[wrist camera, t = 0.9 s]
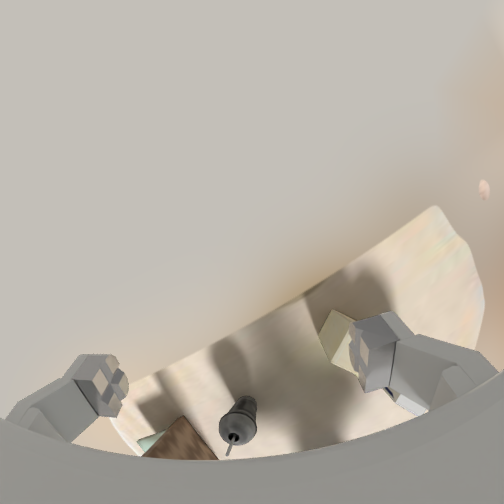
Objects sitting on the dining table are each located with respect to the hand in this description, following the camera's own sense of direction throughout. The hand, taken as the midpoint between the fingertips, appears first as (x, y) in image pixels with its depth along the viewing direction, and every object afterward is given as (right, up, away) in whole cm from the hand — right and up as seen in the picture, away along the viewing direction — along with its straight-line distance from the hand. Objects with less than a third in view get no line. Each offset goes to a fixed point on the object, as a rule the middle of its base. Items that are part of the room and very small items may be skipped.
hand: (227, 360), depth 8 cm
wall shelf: (-17, -46, +47) cm, 68 cm away
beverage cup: (0, -31, +47) cm, 56 cm away
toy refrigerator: (+19, -13, +47) cm, 52 cm away
